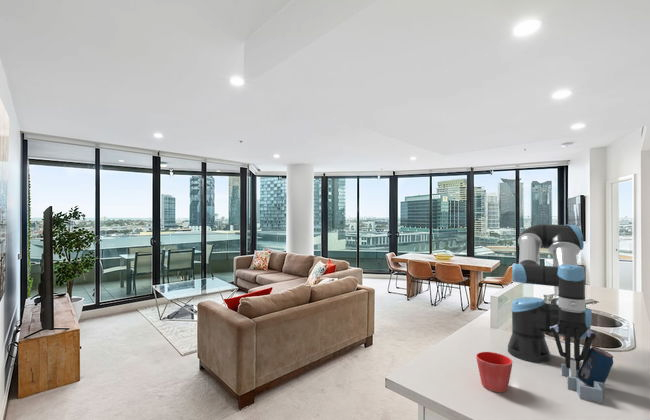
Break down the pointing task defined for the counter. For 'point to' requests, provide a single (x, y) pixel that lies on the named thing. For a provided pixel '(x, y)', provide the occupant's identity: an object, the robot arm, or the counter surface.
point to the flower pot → (494, 370)
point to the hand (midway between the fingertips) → (572, 378)
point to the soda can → (595, 367)
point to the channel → (584, 387)
